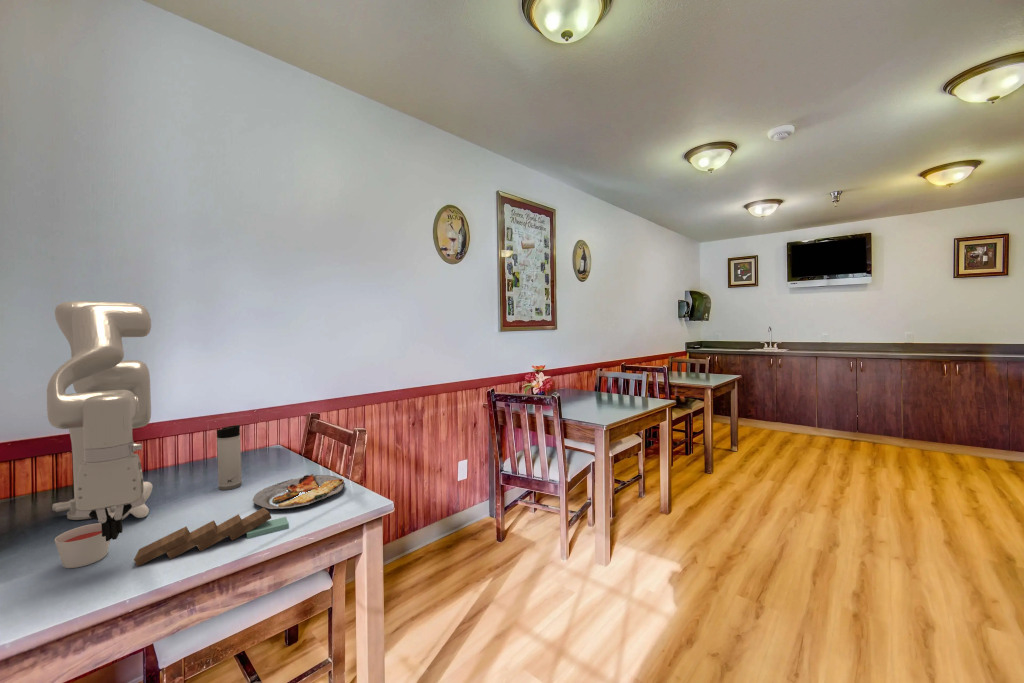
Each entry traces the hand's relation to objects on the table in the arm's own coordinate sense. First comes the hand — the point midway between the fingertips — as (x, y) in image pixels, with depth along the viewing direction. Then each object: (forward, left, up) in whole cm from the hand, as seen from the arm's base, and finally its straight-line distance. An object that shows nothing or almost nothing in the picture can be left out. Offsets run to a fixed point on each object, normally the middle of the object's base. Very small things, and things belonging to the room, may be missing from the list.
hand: (112, 537), depth 89 cm
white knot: (-2, +30, -7) cm, 31 cm away
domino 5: (+24, 0, -6) cm, 25 cm away
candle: (-6, +8, -7) cm, 12 cm away
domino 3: (+15, 0, -6) cm, 16 cm away
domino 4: (+20, +1, -6) cm, 21 cm away
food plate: (+39, +20, -7) cm, 44 cm away
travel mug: (+21, +42, -7) cm, 47 cm away
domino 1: (+4, 0, -6) cm, 7 cm away
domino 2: (+9, -1, -6) cm, 11 cm away
